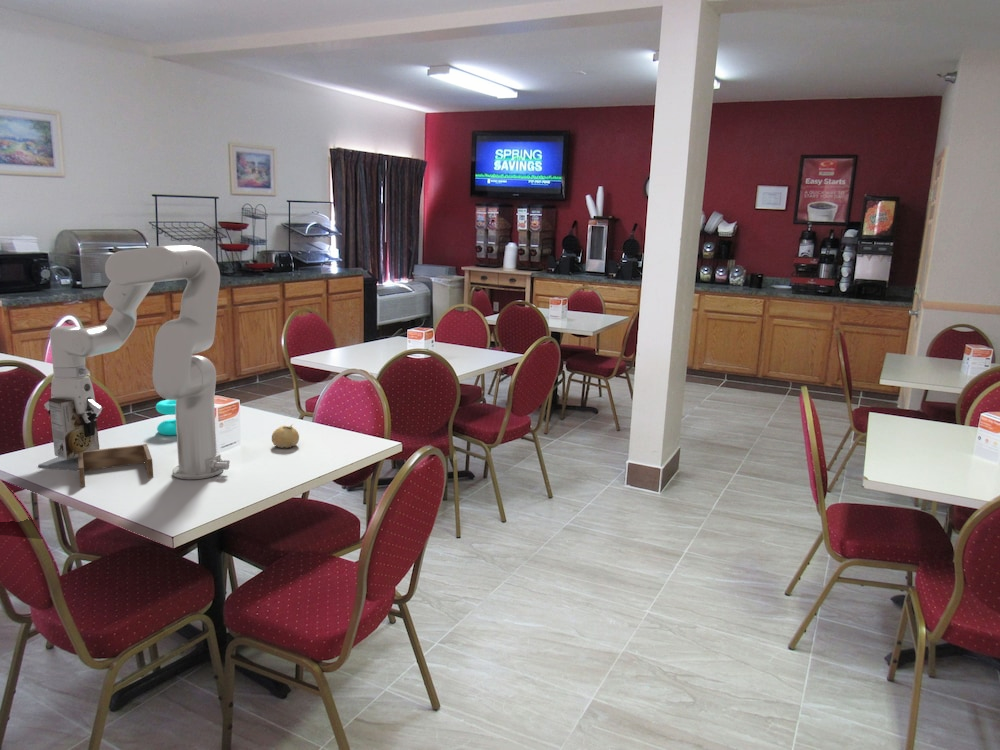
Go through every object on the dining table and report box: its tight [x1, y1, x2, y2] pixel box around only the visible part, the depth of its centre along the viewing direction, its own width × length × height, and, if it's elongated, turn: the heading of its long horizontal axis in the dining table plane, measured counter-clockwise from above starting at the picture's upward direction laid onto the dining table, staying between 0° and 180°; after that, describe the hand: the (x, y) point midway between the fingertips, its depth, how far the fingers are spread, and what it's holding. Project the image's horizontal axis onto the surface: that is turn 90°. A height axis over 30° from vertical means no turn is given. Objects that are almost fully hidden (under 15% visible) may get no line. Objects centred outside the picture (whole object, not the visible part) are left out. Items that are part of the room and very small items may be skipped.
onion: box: [271, 424, 300, 448], centre depth 211 cm, size 8×8×7 cm
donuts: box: [155, 399, 177, 436], centre depth 221 cm, size 10×10×10 cm
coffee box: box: [48, 397, 100, 460], centre depth 190 cm, size 9×6×16 cm
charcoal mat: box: [38, 456, 79, 471], centre depth 192 cm, size 13×13×1 cm
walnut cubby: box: [78, 443, 154, 488], centre depth 183 cm, size 16×14×5 cm
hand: (75, 434), depth 190 cm, fingers closed on coffee box, 8 cm apart
